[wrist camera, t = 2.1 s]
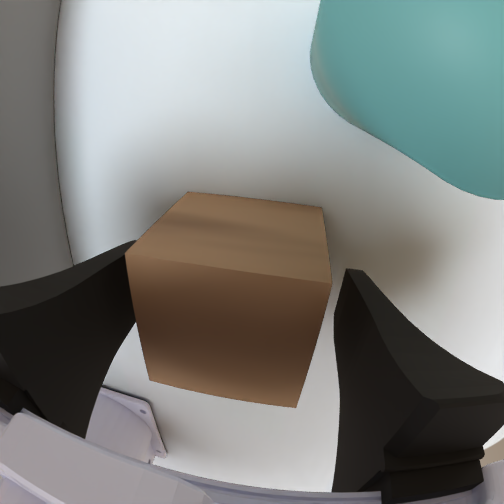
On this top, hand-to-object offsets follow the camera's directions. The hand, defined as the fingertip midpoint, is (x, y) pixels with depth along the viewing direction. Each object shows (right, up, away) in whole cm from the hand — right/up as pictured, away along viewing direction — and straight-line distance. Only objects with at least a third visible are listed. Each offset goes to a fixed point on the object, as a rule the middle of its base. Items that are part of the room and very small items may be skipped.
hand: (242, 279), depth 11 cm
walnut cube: (0, +1, +2) cm, 2 cm away
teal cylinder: (+5, +7, -3) cm, 9 cm away
